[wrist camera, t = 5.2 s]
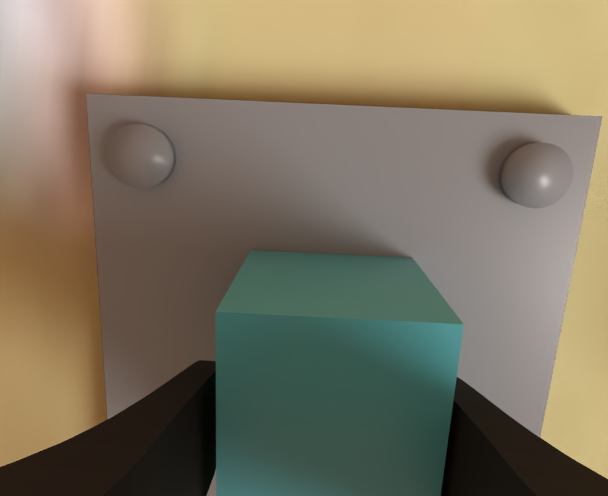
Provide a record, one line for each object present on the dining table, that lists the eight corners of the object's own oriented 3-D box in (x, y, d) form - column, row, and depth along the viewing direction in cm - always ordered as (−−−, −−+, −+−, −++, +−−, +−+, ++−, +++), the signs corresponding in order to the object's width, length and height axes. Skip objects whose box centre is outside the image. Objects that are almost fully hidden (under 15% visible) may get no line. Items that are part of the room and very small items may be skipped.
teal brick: (393, 449, 14) (427, 592, 10) (247, 441, 14) (216, 580, 10) (412, 257, 13) (463, 324, 8) (250, 249, 13) (215, 312, 8)
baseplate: (500, 537, 16) (520, 584, 14) (130, 510, 16) (108, 552, 15) (576, 117, 13) (614, 115, 11) (107, 97, 13) (75, 91, 11)
